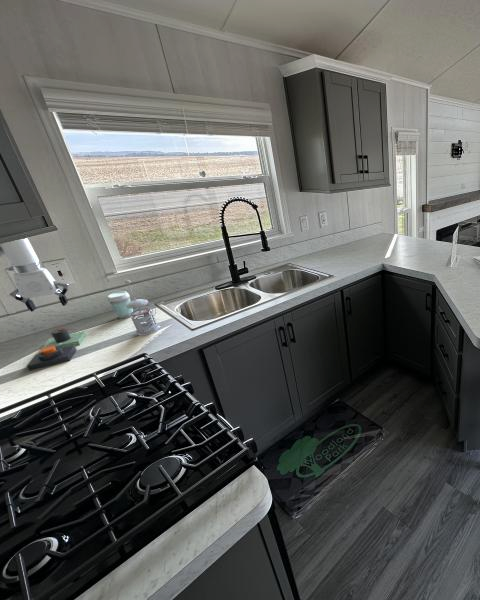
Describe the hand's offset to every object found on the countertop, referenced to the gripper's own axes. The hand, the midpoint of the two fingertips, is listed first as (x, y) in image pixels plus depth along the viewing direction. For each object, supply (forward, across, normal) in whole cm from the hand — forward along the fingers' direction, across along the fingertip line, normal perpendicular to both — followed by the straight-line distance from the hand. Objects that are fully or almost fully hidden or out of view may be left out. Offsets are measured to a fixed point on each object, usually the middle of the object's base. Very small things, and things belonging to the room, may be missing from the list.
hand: (49, 307), depth 133 cm
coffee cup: (+18, +17, +20) cm, 32 cm away
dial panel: (+18, -2, +2) cm, 18 cm away
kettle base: (+18, -2, -12) cm, 22 cm away
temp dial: (+16, -2, +2) cm, 16 cm away
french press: (+18, +29, -2) cm, 34 cm away
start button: (+15, -2, -12) cm, 19 cm away
